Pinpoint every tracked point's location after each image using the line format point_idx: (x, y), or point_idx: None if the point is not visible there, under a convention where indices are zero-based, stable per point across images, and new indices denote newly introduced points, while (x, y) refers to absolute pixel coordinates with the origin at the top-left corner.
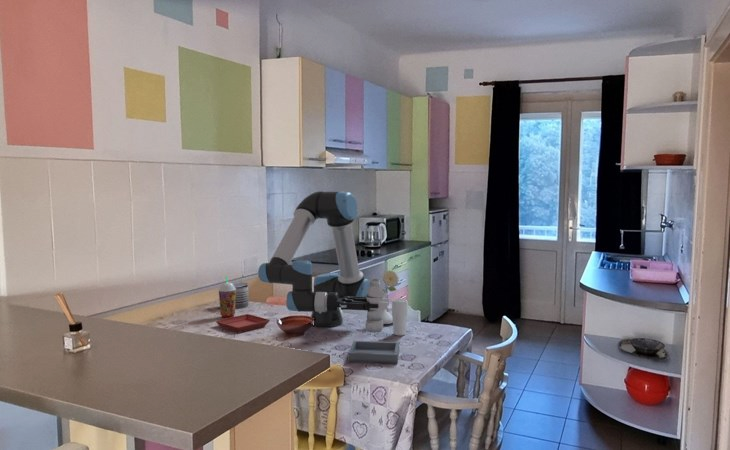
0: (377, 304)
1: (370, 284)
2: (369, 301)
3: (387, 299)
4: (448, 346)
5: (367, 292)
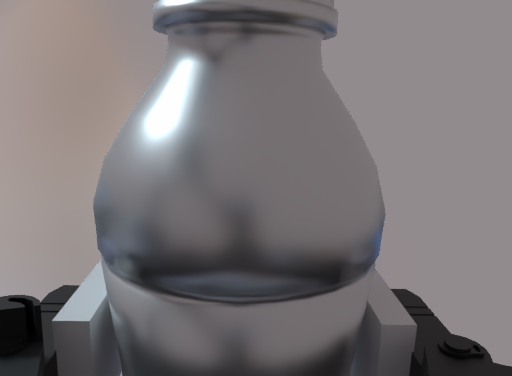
0: (411, 293)
1: (314, 13)
2: (355, 337)
3: None
4: None
5: (333, 191)
